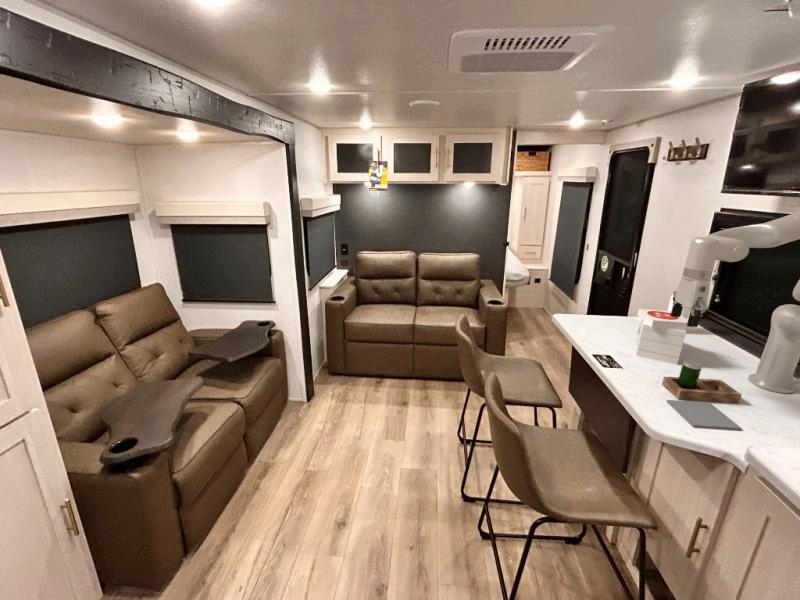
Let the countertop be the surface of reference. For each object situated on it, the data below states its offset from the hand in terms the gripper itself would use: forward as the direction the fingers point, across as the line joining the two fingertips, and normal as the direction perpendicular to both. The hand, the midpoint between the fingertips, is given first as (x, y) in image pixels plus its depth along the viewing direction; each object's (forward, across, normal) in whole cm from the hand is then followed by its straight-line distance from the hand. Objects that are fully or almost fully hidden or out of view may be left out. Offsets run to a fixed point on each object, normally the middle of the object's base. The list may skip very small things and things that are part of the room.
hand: (683, 321), depth 133 cm
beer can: (+26, -4, -4) cm, 27 cm away
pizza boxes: (+26, +34, -13) cm, 45 cm away
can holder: (+26, -4, -9) cm, 28 cm away
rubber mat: (+26, -18, -2) cm, 32 cm away
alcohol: (+26, +61, -36) cm, 75 cm away
